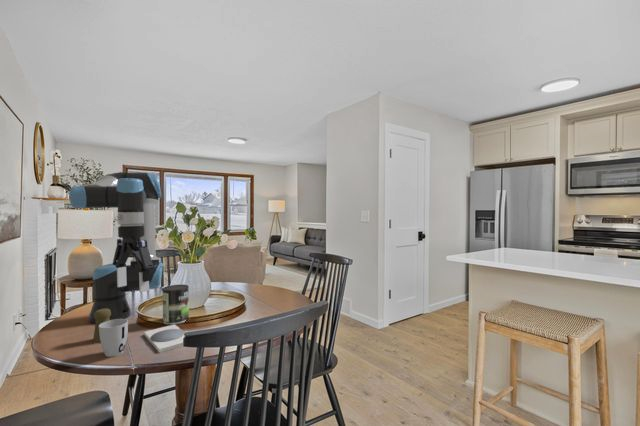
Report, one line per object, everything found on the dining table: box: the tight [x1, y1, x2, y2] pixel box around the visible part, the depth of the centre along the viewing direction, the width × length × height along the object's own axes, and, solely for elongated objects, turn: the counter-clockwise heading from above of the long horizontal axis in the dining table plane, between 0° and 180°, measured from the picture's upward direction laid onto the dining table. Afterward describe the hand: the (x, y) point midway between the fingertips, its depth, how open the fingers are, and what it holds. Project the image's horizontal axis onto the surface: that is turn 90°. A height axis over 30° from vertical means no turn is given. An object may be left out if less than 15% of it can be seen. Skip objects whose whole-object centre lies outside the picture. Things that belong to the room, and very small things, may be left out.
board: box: [143, 324, 186, 353], centre depth 116 cm, size 20×11×2 cm, turn 42°
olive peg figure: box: [92, 309, 111, 344], centre depth 116 cm, size 6×6×11 cm
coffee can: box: [161, 284, 190, 326], centre depth 135 cm, size 10×10×14 cm
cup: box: [99, 318, 129, 358], centre depth 105 cm, size 8×8×10 cm
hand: (132, 288), depth 107 cm, fingers open, 13 cm apart
